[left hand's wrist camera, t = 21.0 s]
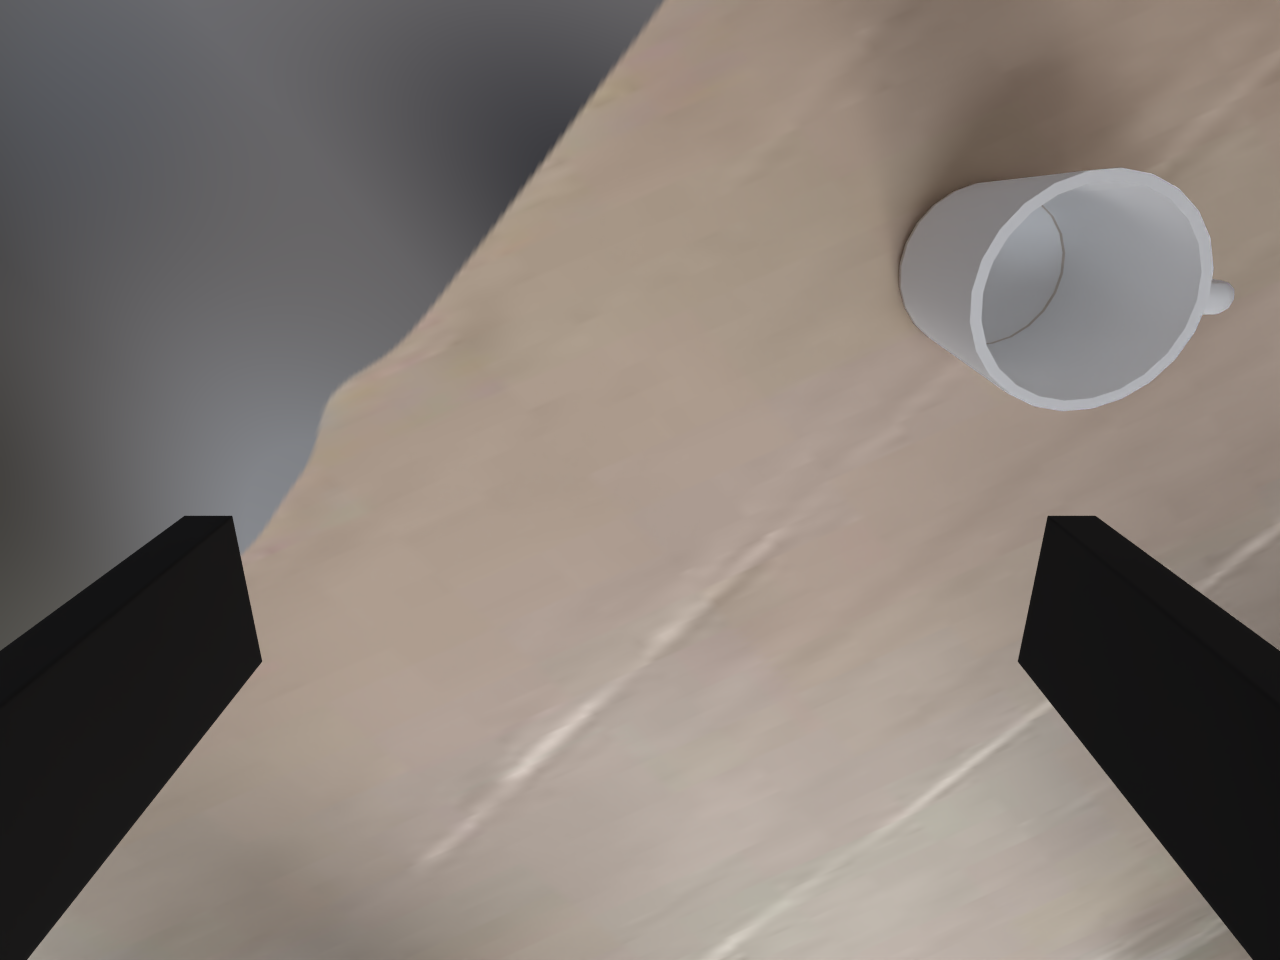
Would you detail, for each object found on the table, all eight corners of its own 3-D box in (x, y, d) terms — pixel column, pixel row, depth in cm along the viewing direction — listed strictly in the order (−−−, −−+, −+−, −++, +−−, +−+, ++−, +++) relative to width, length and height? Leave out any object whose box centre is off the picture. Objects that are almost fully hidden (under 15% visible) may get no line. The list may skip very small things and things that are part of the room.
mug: (875, 353, 40) (949, 406, 31) (903, 167, 37) (996, 162, 27) (1085, 361, 40) (1225, 417, 31) (1131, 177, 37) (1303, 175, 28)
